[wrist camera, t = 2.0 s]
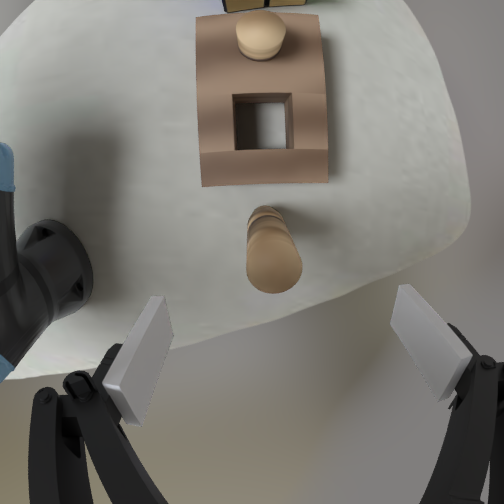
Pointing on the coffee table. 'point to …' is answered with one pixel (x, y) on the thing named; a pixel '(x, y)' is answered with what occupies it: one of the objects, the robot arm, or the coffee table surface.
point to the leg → (271, 252)
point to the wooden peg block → (261, 96)
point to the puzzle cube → (256, 4)
